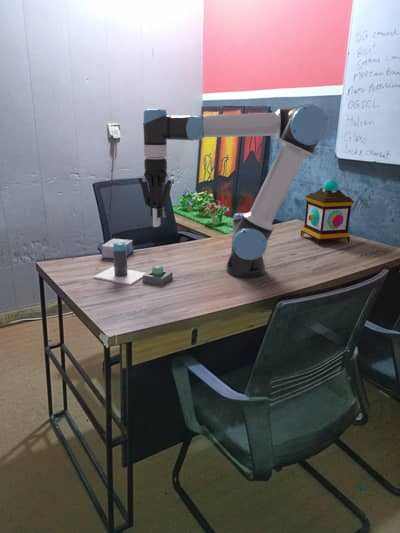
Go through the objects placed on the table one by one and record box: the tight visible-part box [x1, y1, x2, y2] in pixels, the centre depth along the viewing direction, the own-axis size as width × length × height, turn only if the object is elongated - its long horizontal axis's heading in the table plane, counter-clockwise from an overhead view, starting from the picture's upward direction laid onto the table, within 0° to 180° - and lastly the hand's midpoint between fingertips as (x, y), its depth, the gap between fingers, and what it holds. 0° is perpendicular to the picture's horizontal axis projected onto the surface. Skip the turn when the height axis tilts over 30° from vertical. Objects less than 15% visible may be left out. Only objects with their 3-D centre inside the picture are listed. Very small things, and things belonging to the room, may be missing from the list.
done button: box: [151, 264, 164, 277], centre depth 158 cm, size 4×4×3 cm
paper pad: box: [93, 266, 147, 286], centre depth 162 cm, size 16×12×1 cm
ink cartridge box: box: [100, 238, 134, 260], centre depth 187 cm, size 10×6×14 cm
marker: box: [113, 242, 128, 277], centre depth 160 cm, size 5×5×12 cm
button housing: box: [142, 269, 173, 286], centre depth 159 cm, size 8×8×2 cm
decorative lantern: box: [300, 178, 355, 247], centre depth 210 cm, size 20×20×30 cm
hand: (156, 226), depth 153 cm, fingers closed
